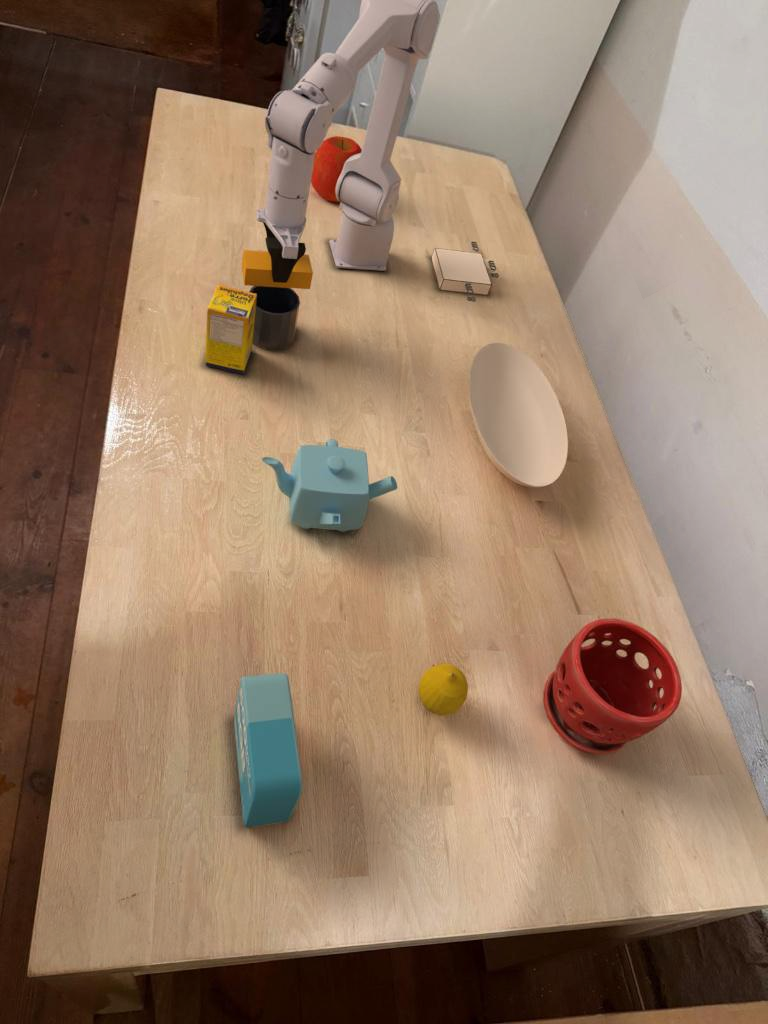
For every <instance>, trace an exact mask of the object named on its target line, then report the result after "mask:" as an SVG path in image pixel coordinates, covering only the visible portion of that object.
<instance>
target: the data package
mask: <svg viewBox="0 0 768 1024" xmlns="http://www.w3.org/2000/svg"><path fill="white" fill-rule="evenodd" d="M292 699H293V698H292V692H291V685H290V680H289V676H288V674H287V673H286V672H278V673H267V674H259V675H258V674H256V675H248V676H247V675H246V676H242V677H241V678H240V681H239V686H238V692H237V698H236V704H235V710H234V717H233V719H234V720H233V721H234V722H233V723H234V725H233V726H234V736H235V746H236V748H235V749H236V757H237V759H236V760H237V768H238V779H239V790H240V791H239V792H240V802H241V803H240V804H241V812H242V813H241V814H242V822H243V826H244V827H245V828H254V827H260V826H267V825H271V824H272V825H274V824H280V823H285V822H287V823H288V822H289V821H290V820H291V818H292V816H293V814H294V811H295V809H296V806H297V805H298V803H299V800H300V798H301V796H302V794H303V773H302V763H301V757H300V751H299V744H298V736H297V728H296V722H295V713H294V707H293V702H292Z"/></svg>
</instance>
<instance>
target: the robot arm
mask: <svg viewBox="0 0 768 1024" xmlns="http://www.w3.org/2000/svg"><path fill="white" fill-rule="evenodd" d="M440 18H441V14H440V10H439V4H438V3H437V1H436V0H361V3H360V7H359V13H358V19H357V21H356V22H355V23H354V25H353V26H352V28H350V31H348V33H347V35H346V37H345V38H344V39H343V41H342V42H341V43H340V45H339V46H338V48H337V50H336V51H335V52H334V53H333V52H325V53H322V54H321V55H320V56H319V57H318V59H317V60H316V61H315V62H314V63H313V64H312V66H311V67H310V68H309V69H308V70H307V72H305V74H304V75H303V76H302V78H300V79H299V81H298V82H297V83H296V84H295V86H293V88H292V89H287V90H281V91H278V92H277V93H276V94H274V96H273V97H272V100H270V103H269V104H268V105H269V106H268V109H267V113H266V116H265V118H264V127H265V130H266V133H267V137H268V140H267V146H268V148H269V149H270V150H271V151H270V161H269V171H268V179H267V189H266V197H265V206H264V208H263V209H257V210H256V211H255V217H256V221H257V222H259V223H262V224H263V227H264V230H265V233H266V237H265V239H264V240H265V245H266V249H267V252H269V254H270V256H271V269H272V278H273V282H280V283H287V281H288V279H289V277H290V275H291V272H292V270H293V268H294V266H295V264H296V263H297V261H298V260H299V259H300V258H301V257H302V256H303V255H304V254H305V255H306V250H307V247H306V243H305V242H300V241H301V238H302V236H303V233H304V230H305V229H306V224H307V217H306V215H307V208H308V204H309V203H308V202H309V196H310V191H311V190H310V189H311V185H312V183H311V177H312V171H313V165H314V158H315V153H316V151H317V149H318V148H319V147H320V146H321V145H322V143H323V141H324V140H326V137H327V134H328V132H329V129H330V128H331V126H332V124H333V122H334V121H333V120H334V119H333V118H334V117H333V116H334V115H335V114H336V113H337V112H338V110H339V109H340V108H341V107H342V105H343V104H344V103H345V102H346V100H347V99H348V98H349V97H350V96H351V94H353V92H354V90H355V87H356V75H357V74H359V72H360V71H361V70H362V69H363V68H364V67H365V66H366V65H367V64H368V63H369V62H370V61H371V60H372V59H373V58H374V57H375V56H376V55H377V54H378V53H379V52H380V51H382V49H383V50H384V58H383V63H382V67H381V71H380V75H379V79H378V82H377V88H376V91H375V95H374V98H373V99H374V100H373V103H372V107H371V111H370V115H369V119H368V123H367V127H366V131H365V135H364V140H363V144H362V147H361V149H362V151H361V153H359V154H356V155H353V156H351V157H350V158H349V159H348V160H347V161H346V162H345V163H344V167H343V170H342V172H341V174H340V176H339V178H338V181H337V184H336V189H335V193H336V198H337V200H338V201H340V202H339V209H340V210H341V211H342V212H341V217H340V221H339V226H338V232H337V236H336V237H337V238H336V239H334V238H333V239H332V238H331V239H329V246H330V249H331V254H332V257H333V261H334V265H335V267H336V268H338V269H351V270H366V271H379V272H380V271H381V272H382V271H384V272H385V271H387V262H388V259H389V256H390V255H389V254H390V251H391V247H392V244H393V239H394V233H395V222H394V217H393V215H394V213H395V211H396V209H397V206H398V203H399V200H400V190H401V189H400V188H401V184H402V183H401V182H402V178H401V175H400V174H399V172H398V171H397V169H396V168H395V166H394V164H393V162H392V161H391V159H392V154H393V152H394V148H395V145H396V141H397V137H398V134H399V130H400V127H401V123H402V119H403V115H404V112H405V108H406V104H407V101H408V97H409V94H410V91H411V87H412V83H413V80H414V76H415V72H416V68H417V65H418V63H419V60H428V59H429V56H430V53H431V51H432V49H433V45H434V41H435V38H436V34H437V30H438V27H439V24H440Z"/></svg>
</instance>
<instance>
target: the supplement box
mask: <svg viewBox="0 0 768 1024" xmlns="http://www.w3.org/2000/svg"><path fill="white" fill-rule="evenodd" d="M256 298H257V294H255V293H251V292H249V291H246V290H243V289H238V288H235V287H230V286H227V285H222V284H217V285H216V287H215V290H214V293H213V294H212V297H211V299H210V302H209V304H208V307H207V310H206V313H207V314H206V335H205V336H206V337H205V366H206V367H210V368H216V369H219V370H223V371H224V370H225V371H227V372H228V371H229V372H233V373H237V374H242V375H244V374H245V371H246V368H247V365H248V362H249V359H250V356H251V353H252V350H253V343H252V342H253V331H254V321H255V310H256Z"/></svg>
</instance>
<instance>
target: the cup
mask: <svg viewBox="0 0 768 1024" xmlns="http://www.w3.org/2000/svg"><path fill="white" fill-rule="evenodd" d="M249 289H250V290H249V291H248V292H251V293H255V294H257V298H256V310H255V321H254V331H253V342H252V345H255V346H256V347H259V348H261V349H265V350H270V351H278V350H283V349H285V348H287V347H289V346H291V344H292V343H293V342H294V339H295V335H296V329H297V324H298V318H299V311H300V305H301V301H300V297H299V295H298V294H297V292H296V291H295V290H294V288H282V287H265V286H251V288H249Z"/></svg>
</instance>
